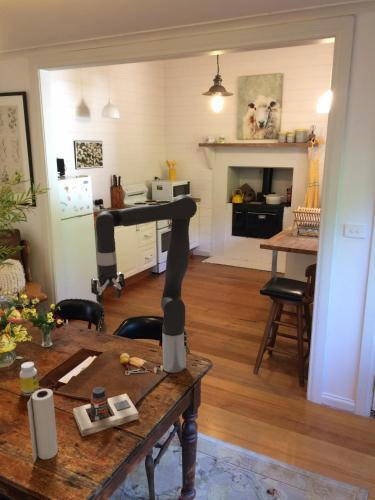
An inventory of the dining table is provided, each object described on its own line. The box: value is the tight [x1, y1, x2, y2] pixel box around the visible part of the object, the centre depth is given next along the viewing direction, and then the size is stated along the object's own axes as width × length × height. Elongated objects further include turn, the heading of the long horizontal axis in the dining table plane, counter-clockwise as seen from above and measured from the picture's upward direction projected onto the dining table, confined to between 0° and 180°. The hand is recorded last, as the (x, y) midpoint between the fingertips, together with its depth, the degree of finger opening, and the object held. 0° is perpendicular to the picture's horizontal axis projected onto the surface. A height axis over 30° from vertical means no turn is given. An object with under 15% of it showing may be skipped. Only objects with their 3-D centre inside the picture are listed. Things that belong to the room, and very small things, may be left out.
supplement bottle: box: [89, 386, 109, 422], centre depth 145 cm, size 6×6×11 cm
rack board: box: [72, 393, 140, 437], centre depth 147 cm, size 20×13×3 cm, turn 117°
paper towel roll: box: [26, 388, 59, 463], centre depth 127 cm, size 7×6×21 cm
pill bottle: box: [19, 361, 40, 396], centre depth 161 cm, size 6×6×12 cm
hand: (109, 300), depth 167 cm, fingers open, 8 cm apart
